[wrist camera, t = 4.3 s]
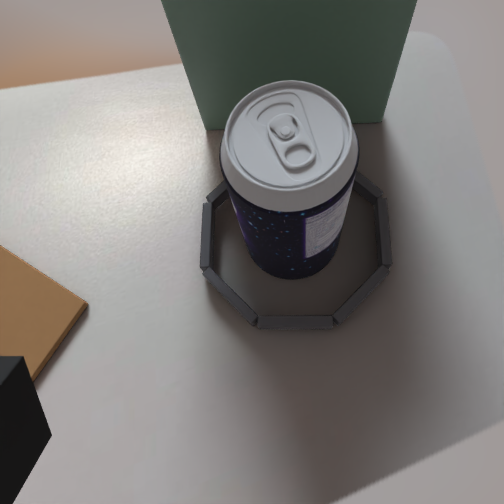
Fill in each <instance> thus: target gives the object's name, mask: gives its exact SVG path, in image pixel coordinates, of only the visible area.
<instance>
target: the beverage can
mask: <svg viewBox="0 0 504 504" xmlns="http://www.w3.org/2000/svg"><path fill="white" fill-rule="evenodd" d="M219 160H220V167H221V171H222V174H223V177H224V180H225V183H226V186H227V189H228V192H229V195H230V198H231V201H232V204H233V207H234V210H235V213H236V216H237V219H238V222H239V225H240V228H241V231H242V234H243V237H244V240H245V243H246V246H247V249H248V252H249V254H250V256H251V258H252V259H253V261H254V262H255V263H256V264H257V265H258V266H259V267H260V268H261V269H262V270H264V271H265V272H267V273H268V274H270V275H273V276H275V277H278V278H282V279H301V278H305V277H308V276H311V275H313V274H315V273H317V272H319V271H320V270H321V269H323V268H324V267H325V266H326V265H327V264H328V263H329V262H330V260H331V259H332V257H333V256H334V254H335V252H336V249H337V246H338V242H339V238H340V234H341V230H342V226H343V222H344V218H345V214H346V210H347V206H348V202H349V198H350V194H351V190H352V186H353V182H354V178H355V174H356V170H357V166H358V162H359V143H358V138H357V135H356V132H355V130H354V128H353V126H352V123H351V120H350V117H349V115H348V112H347V110H346V109H345V107H344V106H343V104H342V103H341V102H340V101H339V100H338V99H337V98H336V97H335V96H334V95H333V94H332V93H330V92H329V91H327V90H326V89H324V88H322V87H320V86H317V85H315V84H312V83H308V82H304V81H296V80H286V81H278V82H273V83H270V84H266V85H264V86H261V87H259V88H257V89H255V90H254V91H252V92H250V93H249V94H248V95H246V96H245V97H244V98H243V99H242V100H241V101H240V102H239V103H238V104H237V105H236V106H235V108H234V109H233V111H232V112H231V114H230V116H229V119H228V121H227V124H226V128H225V133H224V135H223V138H222V141H221V145H220V153H219Z"/></svg>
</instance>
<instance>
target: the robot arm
mask: <svg viewBox="0 0 504 504" xmlns="http://www.w3.org/2000/svg"><path fill="white" fill-rule="evenodd" d="M51 436H52V434H51V431H50V428H49V426H48V423H47V420H46V417H45V414H44V412H43V409H42V406H41V403H40V401H39V398H38V395H37V392H36V389H35V387H34V384H33V381H32V378H31V376H30V373H29V370H28V367H27V365H26V362H25V359H24V356H0V504H13V502H14V501H15V499H16V497H17V495H18V494H19V492H20V490H21V488H22V487H23V485H24V483H25V481H26V480H27V478H28V476H29V474H30V473H31V471H32V469H33V467H34V466H35V464H36V462H37V460H38V459H39V457H40V455H41V453H42V452H43V450H44V448H45V446H46V445H47V443H48V441H49V439H50V438H51Z"/></svg>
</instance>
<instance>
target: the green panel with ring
mask: <svg viewBox="0 0 504 504" xmlns="http://www.w3.org/2000/svg"><path fill="white" fill-rule="evenodd" d="M161 2H162V4H163V8H164V10H165V13H166V16H167V19H168V22H169V25H170V28H171V31H172V34H173V36H174V39H175V42H176V45H177V48H178V51H179V54H180V57H181V60H182V63H183V66H184V69H185V71H186V74H187V77H188V80H189V83H190V86H191V89H192V92H193V95H194V98H195V100H196V103H197V106H198V109H199V112H200V115H201V118H202V121H203V124H204V127H205V129H206V130H219V129H225V128H226V124H227V121H228V119H229V116H230V114H231V112H232V111H233V109H234V108H235V106H236V105H237V104H238V103H239V102H240V101H241V100H242V99H243V98H244V97H245V96H246V95H248V94H249V93H250V92H252V91H254V90H255V89H257V88H259V87H261V86H264V85H266V84H270V83H273V82H278V81H286V80H296V81H304V82H308V83H312V84H315V85H317V86H320V87H322V88H324V89H326V90H327V91H329V92H330V93H332V94H333V95H334V96H335V97H336V98H337V99H338V100H339V101H340V102H341V103H342V104H343V106H344V107H345V109H346V110H347V112H348V115H349V117H350V120H351V123H352V124H353V123H375V122H382V118H383V115H384V112H385V108H386V105H387V101H388V98H389V95H390V91H391V88H392V84H393V81H394V78H395V74H396V71H397V67H398V64H399V61H400V57H401V54H402V51H403V47H404V44H405V40H406V37H407V34H408V30H409V27H410V23H411V20H412V17H413V13H414V10H415V6H416V3H417V0H161ZM352 188H353V189H354V190H355V191H357V192H358V193H359V194H360V195H361V196H363V197H364V198H365V199H366V200H368V201H369V202H370V203H371V204H373V205H374V216H375V229H376V242H377V255H378V269H377V270H376V271H375V272H374V273H373V274H372V275H371V276H370V277H369V278H368V279H367V280H366V281H365V282H364V283H363V284H362V285H361V286H360V287H359V288H358V289H357V290H356V291H355V292H354V293H353V295H352V296H351V297H350V298H349V299H348V300H347V301H346V302H345V303H344V304H343V305H342V306H341V307H340V308H339V309H338V310H337V311H336V312H335V313H334V314H333V315H314V316H258V315H257V314H256V313H255V312H254V311H253V310H252V309H251V308H250V307H249V306H248V305H247V304H246V303H245V302H244V301H243V300H242V299H241V298H240V297H239V296H238V295H237V294H236V293H235V292H234V291H233V290H232V289H231V288H230V287H229V286H228V285H227V284H226V283H225V282H224V281H223V280H222V279H221V278H220V277H219V276H218V275H217V274H216V273H215V272H214V271H213V255H214V231H215V210H216V209H217V208H218V207H219V206H220V205H221V204H222V203H223V202H224V201H225V200H227V199H228V198H229V197H230V195H229V192H228V189H227V186H226V183H225V180H224V181H223V182H222V183H221V184H220V185H219V186H218V187H216V188H215V189H214V190H213V191H212V192H211V193H210V194H209V195H208V196H207V197H206V198H207V201H208V203H203V212H202V232H201V252H200V268H201V269H202V271H203V276H204V277H205V278H206V279H207V280H208V281H209V282H210V284H211V285H212V286H213V287H214V288H215V289H216V290H217V291H218V292H219V293H220V294H221V295H222V296H223V297H224V298H225V299H226V300H227V301H228V302H229V303H230V304H231V305H232V306H233V307H234V308H235V309H236V310H237V311H238V312H239V313H240V314H241V315H242V316H243V317H244V318H245V319H246V320H247V321H248V322H249V323H250V324H251V325H252V326H254V325H255V324H256V323H257V322H258V327H259V329H332V326H333V322H334V323H335V324H336V325H337V326H339V325H340V324H341V323H342V322H343V321H344V320H345V319H346V318H347V317H348V316H349V315H350V314H351V313H352V312H353V311H354V310H355V308H356V307H357V306H358V305H359V304H360V303H361V302H362V301H363V300H364V299H365V298H366V297H367V296H368V295H369V294H370V293H371V292H372V291H373V290H374V289H375V288H376V287H377V286H378V285H379V284H380V283H381V282H382V280H383V279H384V278H385V277H386V276H387V275H388V273H389V270H388V269H389V268H390V267H391V265H392V255H391V243H390V231H389V220H388V208H387V198H381V196H382V193H383V191H382V190H380V189H379V188H378V187H377V186H375V185H374V184H373V183H372V182H370V181H369V180H368V179H367V178H365V177H364V176H363V175H362V174H360V173H359V172H358V171H357V170H356V174H355V178H354V182H353V186H352Z"/></svg>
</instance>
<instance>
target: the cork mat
mask: <svg viewBox="0 0 504 504" xmlns="http://www.w3.org/2000/svg"><path fill="white" fill-rule="evenodd" d="M87 305H88V303H87V302H86V301H84V300H83V299H81V298H79V297H78V296H76V295H75V294H73V293H72V292H70V291H69V290H67V289H66V288H64V287H63V286H61V285H60V284H58V283H57V282H55V281H54V280H52V279H51V278H49V277H48V276H46V275H45V274H43V273H42V272H40V271H39V270H37V269H36V268H34V267H33V266H31V265H29V264H28V263H26V262H25V261H23V260H22V259H20V258H19V257H17V256H16V255H14V254H13V253H11V252H10V251H8V250H7V249H5V248H4V247H2V246H1V245H0V356H24V359H25V362H26V365H27V367H28V370H29V373H30V376H31V378H32V381H33V382H34V380H35V379H36V377H37V376H38V375H39V373H40V372H41V370H42V369H43V368H44V366H45V365H46V363H47V362H48V360H49V359H50V358H51V356H52V355H53V353H54V352H55V351H56V349H57V348H58V346H59V345H60V344H61V342H62V341H63V339H64V338H65V336H66V335H67V334H68V332H69V331H70V329H71V328H72V327H73V325H74V324H75V322H76V321H77V320H78V318H79V317H80V315H81V314H82V312H83V311H84V310H85V308H86V307H87Z"/></svg>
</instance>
